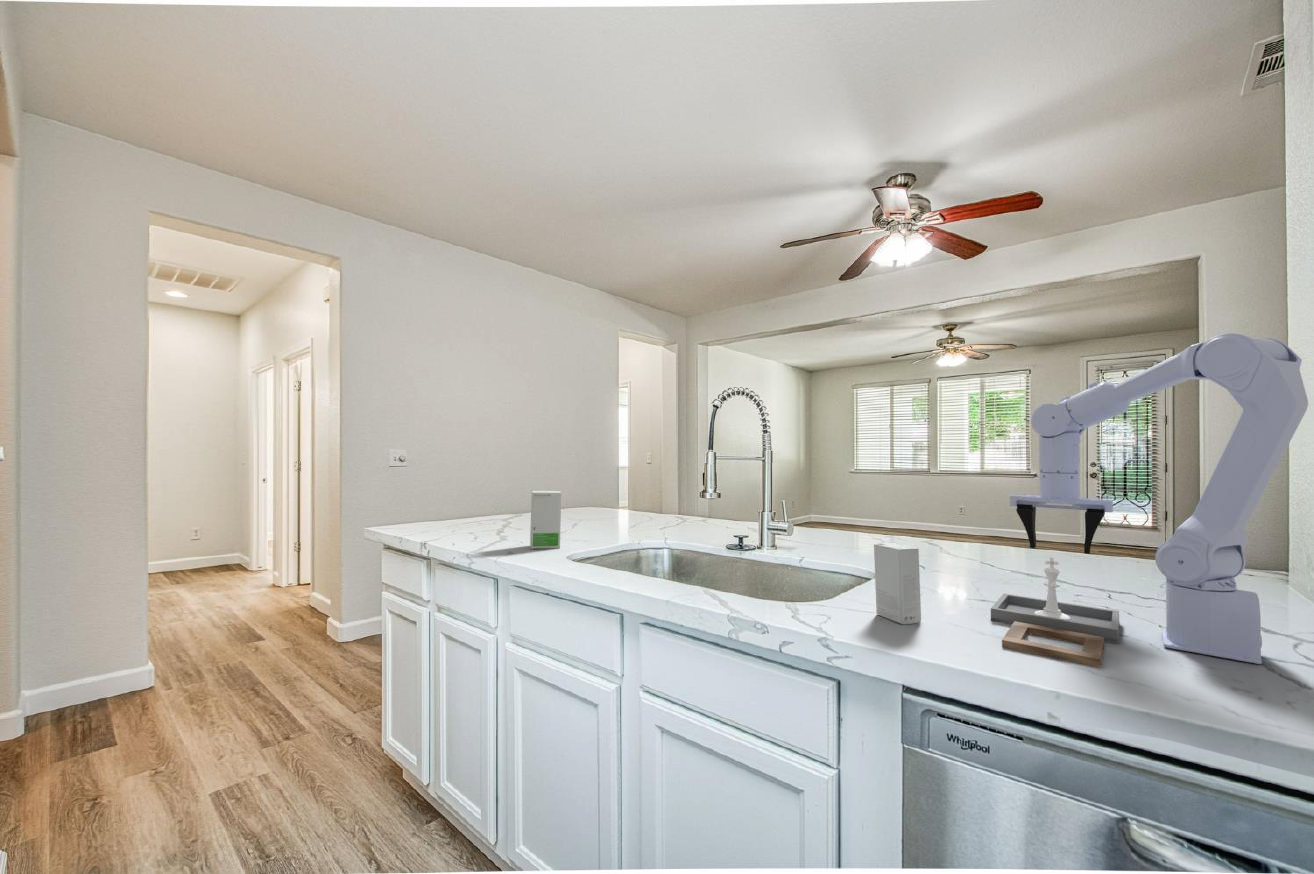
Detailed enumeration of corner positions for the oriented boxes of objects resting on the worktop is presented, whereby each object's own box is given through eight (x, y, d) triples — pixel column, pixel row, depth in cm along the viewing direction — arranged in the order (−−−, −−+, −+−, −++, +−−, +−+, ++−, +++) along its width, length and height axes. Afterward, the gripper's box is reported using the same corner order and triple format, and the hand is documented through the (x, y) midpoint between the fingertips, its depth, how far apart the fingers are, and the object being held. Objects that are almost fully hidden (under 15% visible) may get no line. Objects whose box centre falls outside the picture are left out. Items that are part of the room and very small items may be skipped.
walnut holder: (1104, 644, 80) (1103, 637, 80) (1100, 667, 72) (1100, 659, 72) (1014, 627, 87) (1014, 621, 87) (1001, 646, 79) (1001, 639, 79)
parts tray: (1119, 623, 89) (1119, 611, 89) (1117, 643, 80) (1117, 630, 80) (1003, 604, 100) (1003, 593, 100) (990, 620, 90) (990, 608, 90)
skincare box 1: (530, 549, 150) (530, 492, 150) (530, 545, 157) (530, 490, 157) (561, 548, 152) (561, 491, 152) (559, 544, 159) (560, 489, 159)
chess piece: (1074, 626, 86) (1074, 562, 86) (1037, 622, 88) (1036, 559, 88) (1066, 617, 90) (1066, 556, 90) (1030, 613, 92) (1030, 553, 92)
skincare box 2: (922, 622, 89) (922, 547, 90) (900, 625, 88) (900, 549, 88) (894, 611, 95) (893, 541, 95) (873, 614, 94) (873, 543, 94)
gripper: (1006, 471, 99) (1007, 548, 98) (1111, 475, 89) (1112, 559, 89) (1013, 470, 104) (1013, 542, 104) (1112, 473, 94) (1113, 552, 94)
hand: (1059, 550), depth 97 cm, fingers open, 7 cm apart
